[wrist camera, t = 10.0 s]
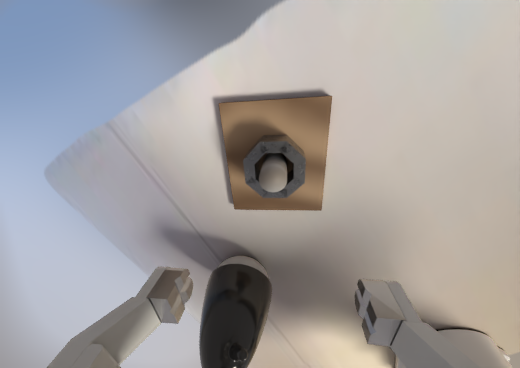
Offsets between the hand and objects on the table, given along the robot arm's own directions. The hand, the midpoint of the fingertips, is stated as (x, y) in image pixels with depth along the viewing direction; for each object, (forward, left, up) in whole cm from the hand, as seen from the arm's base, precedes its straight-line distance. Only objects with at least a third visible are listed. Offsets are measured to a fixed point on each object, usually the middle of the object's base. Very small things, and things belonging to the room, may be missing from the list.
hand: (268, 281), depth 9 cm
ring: (0, 0, -16) cm, 16 cm away
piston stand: (0, 0, -17) cm, 17 cm away
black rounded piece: (-20, +6, -17) cm, 27 cm away
